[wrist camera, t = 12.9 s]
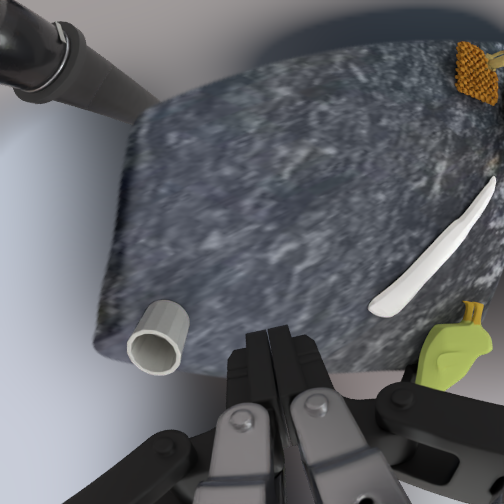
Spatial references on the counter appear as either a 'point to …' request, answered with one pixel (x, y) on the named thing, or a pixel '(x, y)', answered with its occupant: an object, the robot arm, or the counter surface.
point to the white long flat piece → (430, 259)
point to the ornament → (477, 72)
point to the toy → (452, 350)
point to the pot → (159, 338)
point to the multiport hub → (410, 373)
